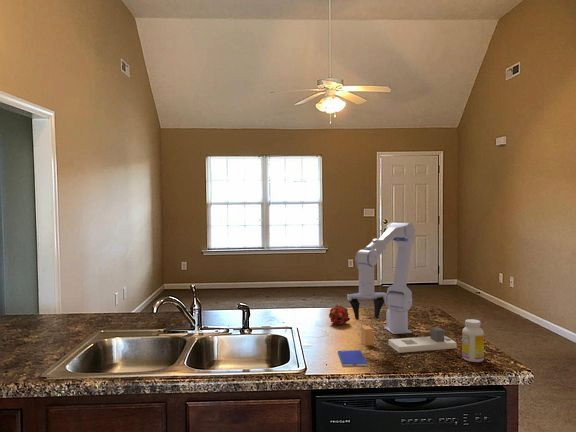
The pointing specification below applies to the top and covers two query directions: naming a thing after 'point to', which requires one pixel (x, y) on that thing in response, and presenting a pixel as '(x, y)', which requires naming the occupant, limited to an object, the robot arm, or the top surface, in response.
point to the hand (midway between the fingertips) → (366, 318)
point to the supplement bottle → (473, 341)
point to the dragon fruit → (339, 315)
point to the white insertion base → (424, 342)
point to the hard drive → (352, 358)
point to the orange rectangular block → (366, 335)
